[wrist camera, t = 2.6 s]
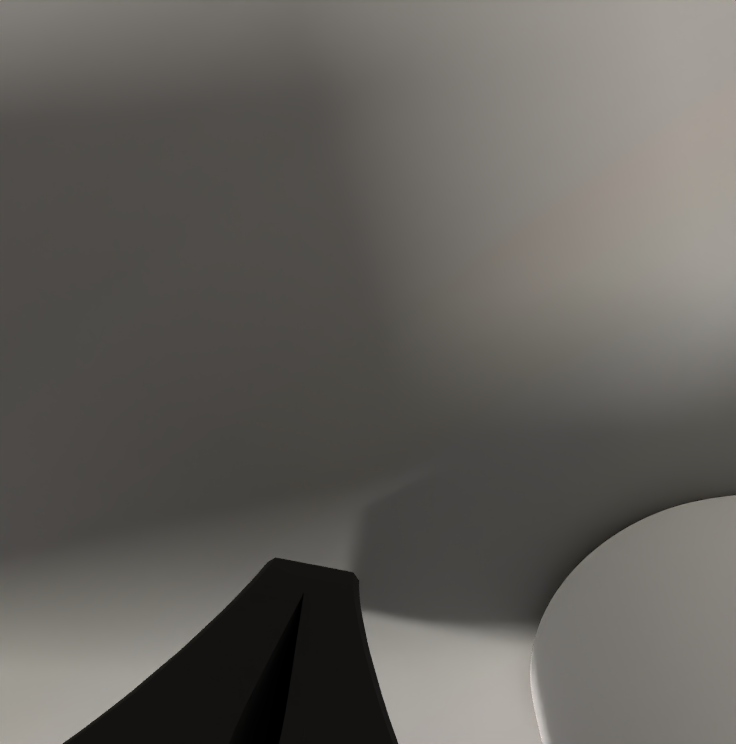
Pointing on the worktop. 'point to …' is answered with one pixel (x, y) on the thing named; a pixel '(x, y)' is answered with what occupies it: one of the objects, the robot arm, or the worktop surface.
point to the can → (644, 636)
